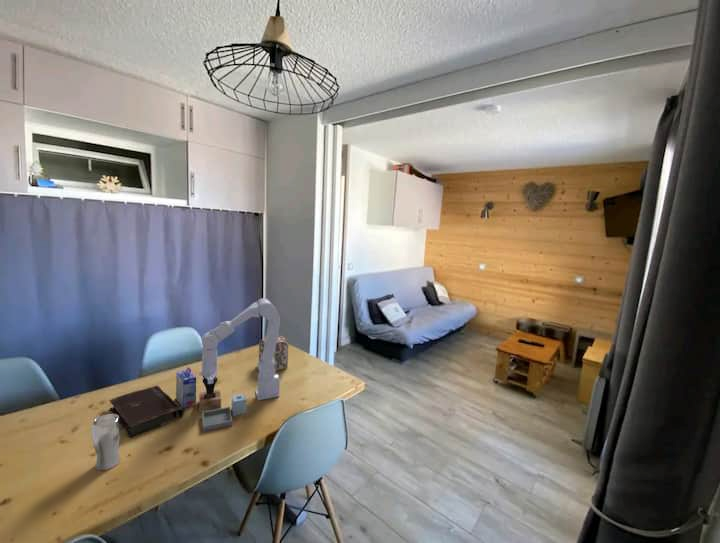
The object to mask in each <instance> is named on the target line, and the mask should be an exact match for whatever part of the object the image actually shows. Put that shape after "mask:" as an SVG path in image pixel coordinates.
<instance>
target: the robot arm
mask: <svg viewBox="0 0 720 543" xmlns="http://www.w3.org/2000/svg"><path fill="white" fill-rule="evenodd" d="M260 317H263V318H264V319H266V320H267V321H268V323H267V330H266V333H265V334H266V335H265V337H266V339H265V345H264V351H263V355H262V356H261V359H260V361H259V360H258V361H257V362H258V363H257V369H258V371H259V372H258V374H257V389H256V390H255V391H254V392H255V395H256V398H257V400H258V401H261V400H267V399H271V398H272V399H273V398H278V397H280V383H281V382H280V376H279V373H276V371H275V368H274V365H275V362H274V355H275V349H276V344H277V338H278V336H279V332H280V327H281V321H282V320H281V317H280V315H279V312H278V310H277V308H276V307H275V306H274V304H273V303H272V301H271V300H269V299H268V298H265V297H264V298H263V297H261V298H259V299H258V300H257V301H255V302H253V303H252V304H250V305H249V306H248V307H247V308H245V309H244V310H243V311H242V312H240V313H239V314H238V315H236V316H235V317H234V318H232V319H231V320H225V321H221V322H220V323H219V325H218V326H216V327H214V328H213V329H210V330H209V332H205V333H204V334H203V335H202V337H201V344H202V349H201V350H202V351H201V360H202V361H201V362H202V363H201V367H202V368H201V370H202V371H199V372H198V375H199V376H202V384H203V386H204V387H205V390H206V391H205V392H207V395H209V394H213V392H214V390H215V386H216V383H217V382H218V377H217V375H218V373H219V369H218V349H217V347H218V345H219V343H220V342H222V341H223V340H224V339H226V338H228V337H229V336H230V335H232V334H233V333H234V332H235V329H236V327H238V326H240V325H241V324H243V323H245V322H246V321H248V320H249V319H251V318H260Z"/></svg>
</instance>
